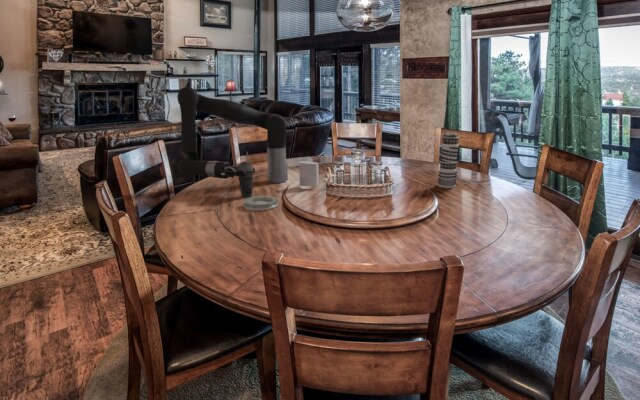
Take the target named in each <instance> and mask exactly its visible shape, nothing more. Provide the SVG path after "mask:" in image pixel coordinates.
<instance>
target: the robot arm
mask: <svg viewBox="0 0 640 400" xmlns="http://www.w3.org/2000/svg"><path fill="white" fill-rule="evenodd" d="M176 97H177V103H178V104H179V110H180V116H181V117H180V120H181V121H180V123H181V125H180V151H181V153H182V154H184V155H185V156H186V158H184V159H181V160H180V161H179V162H178V163H177V169H178V172H180V174H182V175H189V176H191V175H192V176H201V177H209V178H210V177H211V178H215V179H225V180H226V179H229V178H234V177H235V178H237V177H239V176H240V177H245V172H244V171H237V169H238V166H239V164H238V165H231V163H230V162H228V161H220V160H219V161H218V160H201V159H200V157H199V153H198V150H197V149H198V145H197V144H198V143H197V142H198V141H197V140H198V138H197V125H196V114H197V112H200V113H205V114H210V115H211V116H214V117H217V118H219V119H223V120H225V121H229V122H232V123H236V124H243V125H250V126H256V127H259V128H261V129H264V130H266V133H267V136H266V137H267V139H266V153H267V157H266V158H267V180H268V182H269V183H270V184H271V183H272V184H281V183H286V182H287V181H288V180H289V177H288V162H287V150H286V148H287V145H286V144H287V124H286V119H285V118H284V117H283V116H281V115H280V114H277V113H270V112H266V111H261V110H258V109H255V108H252V107H250V106H248V105H245V104H243V103H241V102H236V101H233V100H229V99H222V98H212V97H208V96H205V95H202V94H200V93H198V92H197V91H196V90H195V89H194V88H192V87H190V86H183V87H182V88H180V89H179V91H178V92H177V96H176ZM253 170H254V173H253V174H255V173H256V169H255V167H253Z"/></svg>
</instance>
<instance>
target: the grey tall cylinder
mask: <svg viewBox="0 0 640 400" xmlns="http://www.w3.org/2000/svg"><path fill="white" fill-rule="evenodd" d="M440 137H441V143H440V144H441V145H440V147H439V151H438V152H439V153H440V154H439V158H438V159H439V164H440V165H439V170H438V174H437V175H438V178H437V186H438V187H440V188H445V189H454V188H456V187H457V186H456V184H457V180H458V179H457V176H458V175H457V174H458V172H457V170H458V169H457V163H459V159H458V157H459V156H460V155H459V154H460V151H459V150H461V149H460V147H459V146H460V145H459V144H460V143H459V141H460V140H459V139H460V136H458V134H457V133H454V132H445V133H443V134H442V135H441V136H440Z"/></svg>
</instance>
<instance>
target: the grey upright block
mask: <svg viewBox="0 0 640 400" xmlns="http://www.w3.org/2000/svg"><path fill="white" fill-rule="evenodd" d="M298 165H299V170H298V171H299V186H300V185H301V186H317V185H319V162H314V161H300V162H299V164H298Z"/></svg>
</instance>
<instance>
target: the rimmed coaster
mask: <svg viewBox="0 0 640 400" xmlns="http://www.w3.org/2000/svg"><path fill="white" fill-rule="evenodd" d="M243 202H244V203H243V204H242V208H243V209H244V210H246V211H251V212H265V211H266V212H267V211H272V210H274V209H277V208H278V206H279V205H278V204H279V202H278V200H277V198H276V197H275V196H269V195H258V196H257V195H256V196H253V195H252V197H250V198H243Z"/></svg>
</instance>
